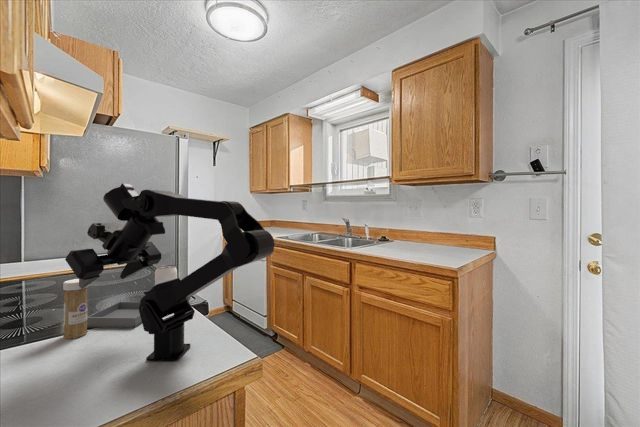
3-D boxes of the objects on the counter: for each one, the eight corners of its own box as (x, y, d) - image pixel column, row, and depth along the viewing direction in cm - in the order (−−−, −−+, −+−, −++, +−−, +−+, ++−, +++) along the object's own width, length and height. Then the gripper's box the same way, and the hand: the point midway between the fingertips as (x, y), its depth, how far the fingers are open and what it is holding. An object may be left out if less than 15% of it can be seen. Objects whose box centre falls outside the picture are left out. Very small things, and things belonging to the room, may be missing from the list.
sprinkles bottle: (78, 339, 67) (78, 282, 67) (57, 339, 67) (57, 282, 67) (92, 331, 72) (92, 277, 71) (73, 331, 71) (73, 277, 71)
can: (155, 300, 95) (155, 265, 95) (177, 298, 98) (177, 263, 98) (153, 306, 89) (153, 268, 89) (176, 304, 92) (176, 267, 92)
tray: (135, 327, 74) (135, 318, 74) (84, 327, 74) (84, 317, 74) (162, 309, 87) (162, 301, 87) (119, 309, 87) (119, 301, 87)
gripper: (151, 210, 74) (122, 252, 78) (69, 210, 57) (36, 264, 60) (176, 240, 72) (145, 282, 75) (98, 250, 54) (62, 304, 58)
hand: (102, 282), depth 67 cm, fingers open, 9 cm apart
